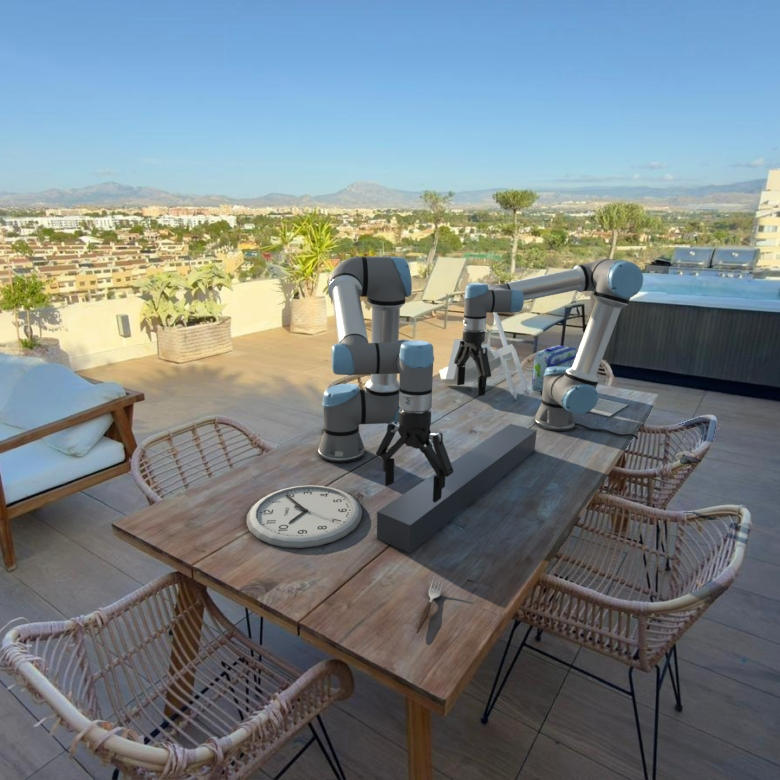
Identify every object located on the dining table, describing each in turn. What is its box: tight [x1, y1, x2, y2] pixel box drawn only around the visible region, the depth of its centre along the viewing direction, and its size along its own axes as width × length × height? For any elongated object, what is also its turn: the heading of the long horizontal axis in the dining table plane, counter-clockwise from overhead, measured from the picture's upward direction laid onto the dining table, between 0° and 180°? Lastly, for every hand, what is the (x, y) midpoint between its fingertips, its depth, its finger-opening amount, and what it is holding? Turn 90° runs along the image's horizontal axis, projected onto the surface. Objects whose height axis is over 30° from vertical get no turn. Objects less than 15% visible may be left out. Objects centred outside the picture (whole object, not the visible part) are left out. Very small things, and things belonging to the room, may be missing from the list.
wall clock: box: [246, 484, 363, 549], centre depth 137 cm, size 30×2×30 cm
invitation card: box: [588, 397, 629, 418], centre depth 226 cm, size 21×1×15 cm
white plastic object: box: [438, 312, 531, 400], centre depth 245 cm, size 37×45×31 cm
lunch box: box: [531, 345, 577, 393], centre depth 245 cm, size 26×11×21 cm, turn 134°
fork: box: [416, 574, 445, 635], centre depth 104 cm, size 3×16×2 cm, turn 160°
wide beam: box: [376, 423, 538, 554], centre depth 153 cm, size 76×10×8 cm, turn 143°
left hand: (412, 491), depth 126 cm, fingers open, 13 cm apart
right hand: (470, 390), depth 183 cm, fingers open, 13 cm apart
